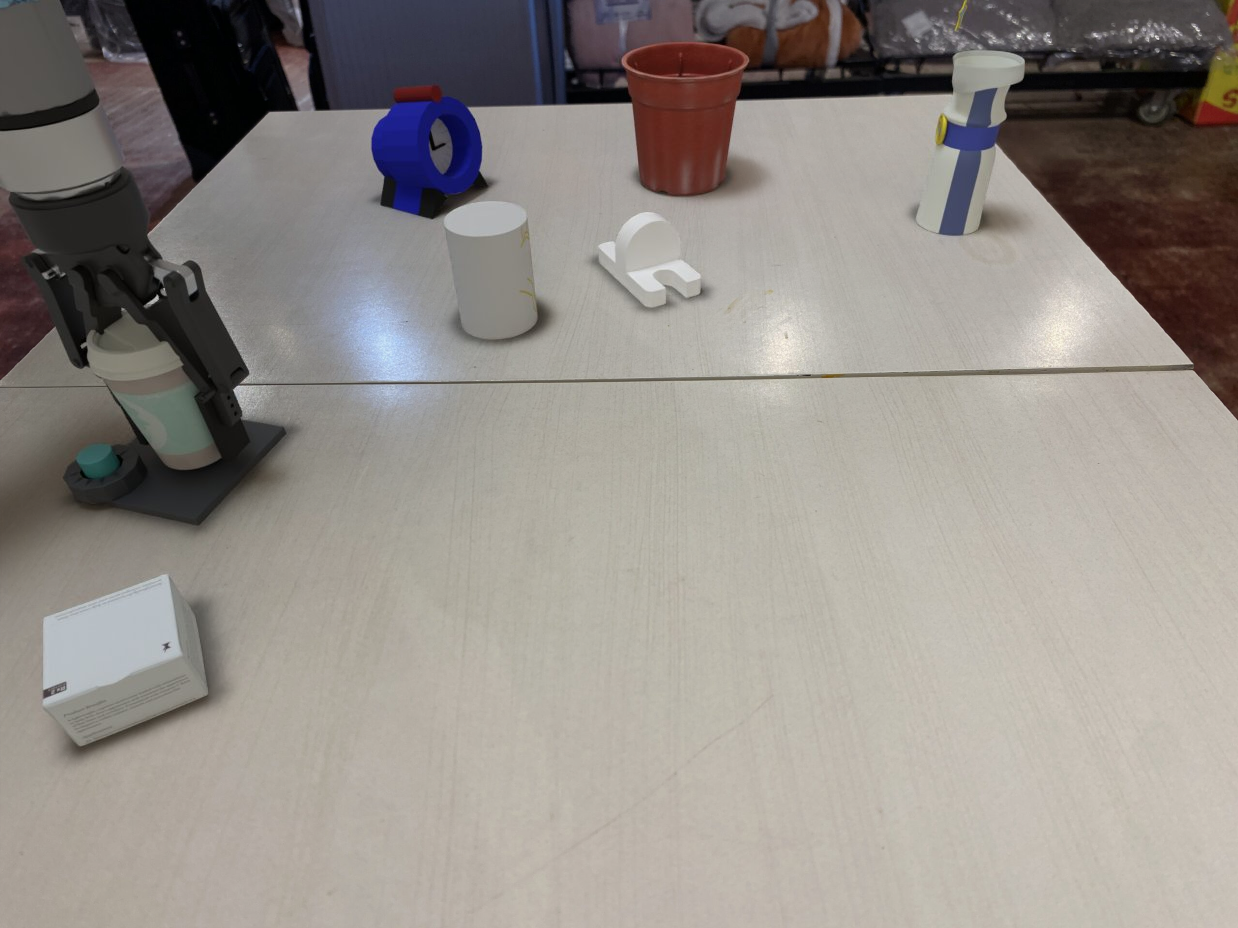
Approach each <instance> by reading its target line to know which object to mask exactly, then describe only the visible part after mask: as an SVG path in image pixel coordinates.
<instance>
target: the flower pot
mask: <svg viewBox="0 0 1238 928" xmlns="http://www.w3.org/2000/svg"><path fill="white" fill-rule="evenodd" d="M749 63H750V58H749V56H748V55H747V54H746V53H745V52H743V51H742V50H739V49H738V48H735V47H732V46H727V45H724V44H723V45H722V44H718V43H712V42H711V43H709V42H701V41H672V42H663V43H662V42H661V43H656V44H655V43H654V44H649V45H645V46H641V47H638V48H635V49H632V50H630V51H629V52H627V53H625V54H624V55H623V56H622V58H621V66H622V67H623V68H622V69H624V70H625V73H626V81H627V90H628V94H629V96H630V98H631V107H632V114H633V125H634V126H633V127H634V133H635V135H634V136H635V145H636V156H637V164H638V165H637V166H638V172H639V173H638V174H639V175H638V176H639V181H640V183H641V184H642V185H643V186H644V187H646V188H647V189H649V190H651V191H653V192H655V193H659V192H660V191H664V192H666V193H668V195H670V196H686V197H688V196H696V195H702V194H704V193H708V192H712V191H714V190H716V189H717V187H718V186H719V184H723V183H724V181H725V176H726V170H727V165H728V164H727V163H728V157H729V151H730V145H731V137H732V131H733V124H734V118H735V111H736V105H737V99H738V96H739V95H740V93H741V88H742V82H743V76H744V75H743V74H744V70H745V69H746V68H747V67H748V65H749Z"/></svg>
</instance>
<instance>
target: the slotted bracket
mask: <svg viewBox="0 0 1238 928" xmlns="http://www.w3.org/2000/svg"><path fill="white" fill-rule="evenodd" d="M681 245H682V244H681V235H680V233H679V231H678V229H677V228H676V227H675V225H673V224H672V223H670V222H669V221H668V220H667V219H666V218H664V217H663V216H661V215H660V214H658V213H656V212H653V211H645V212H640V213H637V214H635V215H634V216H632V217H630V218H629V219H628V220H627V221H626V222H625V223H624V224H623V225H622V227H621V228H620V230H619V231H618V233H617V237H616V239H615V242H614V240H611V241H606V242H603V243H600V244H599V245H598V246H597V248H598V250H597V251H598V263H599V264H600V265H601V266H602V267H603V268H604V269H605V270H606V271H608V273H609V274H610V275H612V276H613V277H614V278H615V279H616V280H617V281H618V282H619V283H620V284H621V285H622V286H623V287H624V288H625V289H626V290H628V292H630V293H631V294H632V295H633V296H634V297H635V298H636V299H637V300H638V301H639V302H640V303H641V304H642V305H643V306H644V307H647V308H657V307H661V306H664V305H666V304H667V287H665V286H669V287H673V288H674V289H675V290H676V291H678V292H679V294H681V295H682V296H683V297H684V298H686V299H688V298H689V299H690V298H692V297H695V296H696V297H697V296H698V295H700V294H701V289H702V287H701V286H702V274H700V273H699V272H698V271H696V269H694V268H693V267H692V266H690V265H689V264H688V263H687V262H686V261H684V260H683V259H682V258H681V250H682V249H681Z"/></svg>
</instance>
